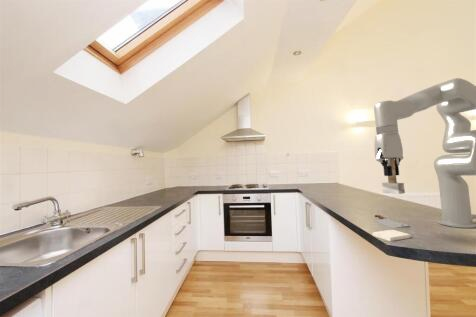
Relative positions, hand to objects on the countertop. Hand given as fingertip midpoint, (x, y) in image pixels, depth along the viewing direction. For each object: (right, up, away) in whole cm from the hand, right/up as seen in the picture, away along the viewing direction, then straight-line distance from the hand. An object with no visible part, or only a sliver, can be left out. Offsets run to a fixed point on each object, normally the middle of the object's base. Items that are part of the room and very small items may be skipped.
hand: (391, 175), depth 91 cm
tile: (+3, -24, -1) cm, 24 cm away
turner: (+1, -7, 0) cm, 7 cm away
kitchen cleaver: (+11, -26, +21) cm, 35 cm away
